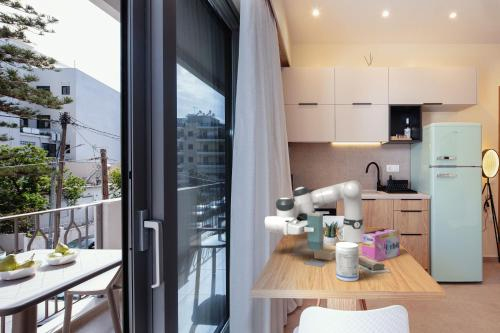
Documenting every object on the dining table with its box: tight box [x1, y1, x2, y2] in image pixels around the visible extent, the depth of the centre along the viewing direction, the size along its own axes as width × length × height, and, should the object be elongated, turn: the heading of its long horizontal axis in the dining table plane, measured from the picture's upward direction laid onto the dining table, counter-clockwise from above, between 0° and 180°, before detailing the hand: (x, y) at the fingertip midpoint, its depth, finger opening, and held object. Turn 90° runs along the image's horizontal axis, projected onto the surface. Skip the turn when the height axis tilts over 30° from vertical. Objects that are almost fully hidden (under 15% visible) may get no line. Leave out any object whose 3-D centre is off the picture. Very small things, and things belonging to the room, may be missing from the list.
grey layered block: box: [359, 253, 391, 275], centre depth 153 cm, size 18×5×10 cm
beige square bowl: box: [312, 243, 336, 261], centre depth 170 cm, size 15×15×5 cm
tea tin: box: [306, 212, 324, 251], centre depth 159 cm, size 6×5×17 cm
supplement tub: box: [335, 241, 360, 282], centre depth 139 cm, size 10×10×15 cm
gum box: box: [361, 227, 401, 262], centre depth 171 cm, size 24×8×14 cm, turn 124°
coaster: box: [303, 258, 329, 268], centre depth 159 cm, size 9×9×1 cm
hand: (316, 228), depth 158 cm, fingers closed on tea tin, 5 cm apart
